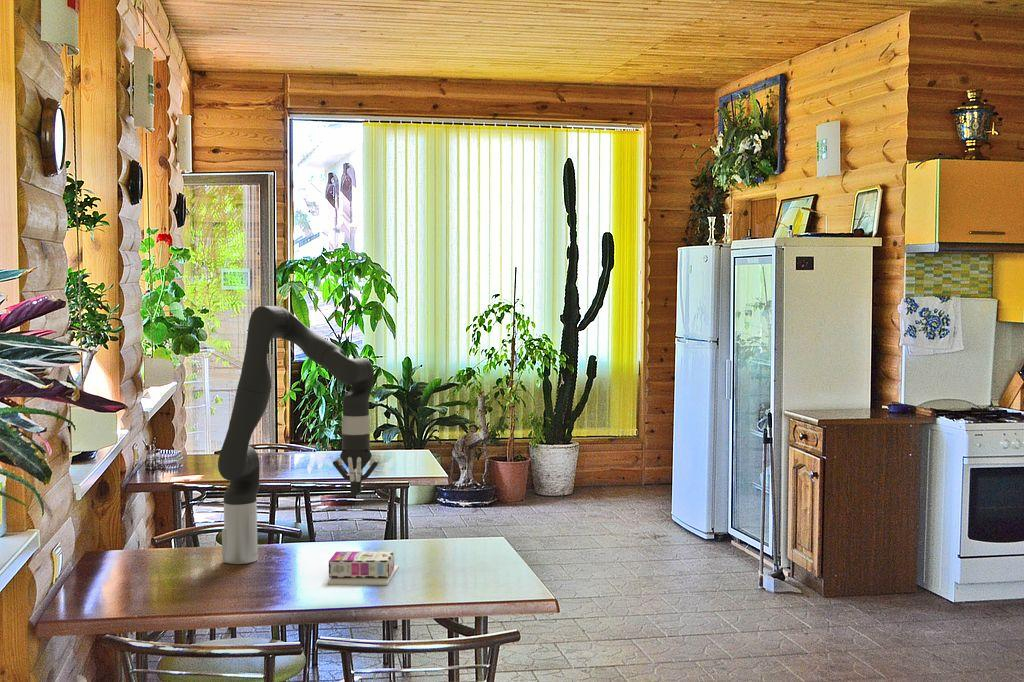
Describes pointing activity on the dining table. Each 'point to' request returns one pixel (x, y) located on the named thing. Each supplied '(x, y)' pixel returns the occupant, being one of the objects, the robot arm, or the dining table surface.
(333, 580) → the mat
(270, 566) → the dining table surface
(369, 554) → the candy bar box
